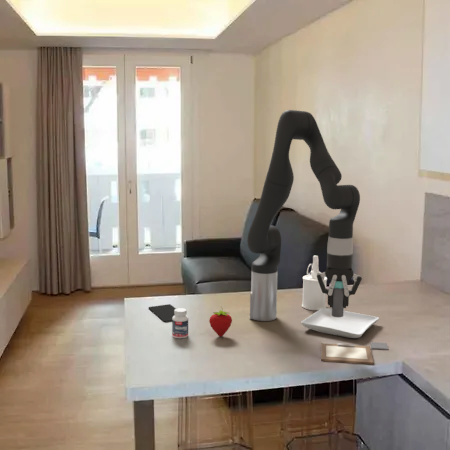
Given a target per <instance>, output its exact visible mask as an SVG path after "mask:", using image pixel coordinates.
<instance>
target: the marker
mask: <svg viewBox="0 0 450 450" xmlns="http://www.w3.org/2000/svg"><path fill="white" fill-rule="evenodd" d="M344 295H345V292H344V287H343V282H342V281H336V282H335V286H334V289H333V292H332V296H333V297H332V307H331V309H332V314H331V315H332V316H333V317H343V315H344V311H345V308H344Z"/></svg>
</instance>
